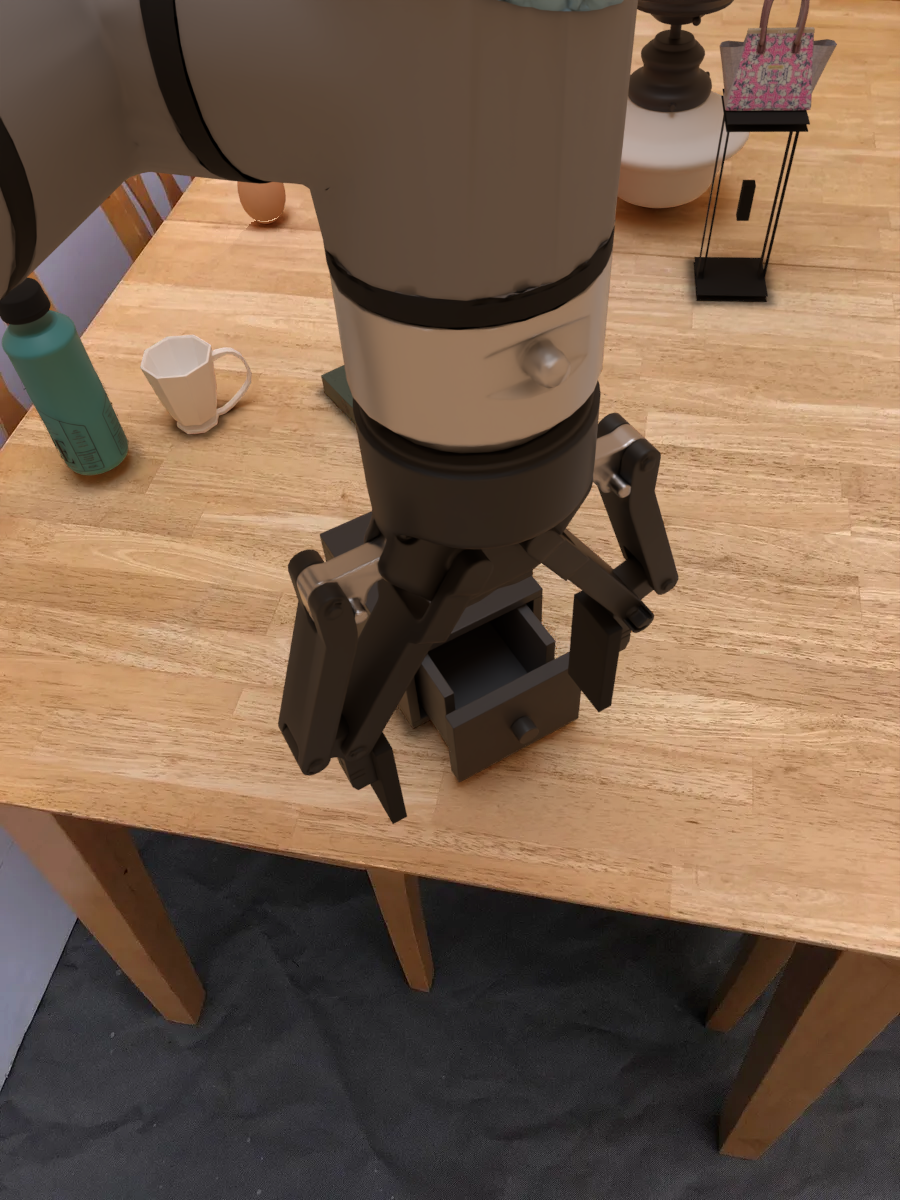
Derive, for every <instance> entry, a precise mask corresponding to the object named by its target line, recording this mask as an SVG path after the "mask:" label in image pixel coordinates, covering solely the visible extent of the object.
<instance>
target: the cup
mask: <svg viewBox="0 0 900 1200" xmlns="http://www.w3.org/2000/svg"><path fill="white" fill-rule="evenodd" d="M226 355H232V356H233V357H236V358H237V359H239V360H241V361H242V363H243V365H244V367H245V370H246V375H245V376H246V377H245V380H244V382H243V384H242V385H241V386H240V388H239V389H238V390H237V392H236V393H235V394H234V395H233V396H232V398H231V399H229V401H227V402H226V403H225V404H224V405H223V406H221V407H217V406H218V385H217V378H216V371H215V363H214V362H216V361H217V360H219V359H221V358H222V357H225V356H226ZM139 369H140V370H141V372H142V373H143V375H144V377H145V378H146V380H147V382H148V383H149V385H150V386H151V388H152V390H153V392H154V393H155V395H156V396H157V399H158V400H159V402H160V403H161V405H162V406H163V408H165V410H166V412H168V414H169V415H170V416H171V417H172V419H173V420H175V421H176V427H177V428H178V429H179V430H181V431H182V432H184V434H185V433H186V434H187V435H196V434H206V433H207V432H208V431H209V430H210V431H211V429H213V428H214V427H216V426H217V425H218V422H219V416H223V415H225V414H227V413H228V412H229V411H231V409H233V408H234V407H235V406H236V405H237V404H238V402H240V401H241V399H242V398H243V397H244V396H245V394H246V393H247V392H248V390H249V388H250V386H251V385H252V376H253V375H252V374H253V373H252V371H251V368H250V365H249V364H248V362H247V360H246V359H245V357H244V356H243V354H242V353H241V351H239V350H236V349H235V348H234V347H230V346H229V347H227V346H223V347H220V348H215V349H212V344H210V343H209V342H207V341H206V340H204V339H202V338H201V337H199V336H197V335H196V334H182V335H170V336H169V335H167V336H165V337H163V338H161V339H160V340H159V341H156V343H154V344H152V345H150V346H149V347H147V348H145V349H144V351H143V355H142V357H141V362H140V367H139Z"/></svg>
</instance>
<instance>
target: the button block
mask: <svg viewBox="0 0 900 1200" xmlns="http://www.w3.org/2000/svg"><path fill="white" fill-rule="evenodd" d="M320 377H321V382H322V387H323V392H324V393H325V395H326V396H328V397H329V399H330V400H331V401H332V402H333V403H334V404H335V405H336V406H337V407H338V408H339V409H340V410H341V411H342V412H343V413H344V415H345V416H347V418H349V420H350V421H351V422H353V424H355V418H354V413H353V396H352V393H351V390H350V388H349V385H348V382H347V379H346V373H345V367H344V364H343V365H341V366H338V367H336V368H334V369H332V370H330V371H327V372H325V373H323V374H321V375H320Z"/></svg>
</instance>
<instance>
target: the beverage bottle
mask: <svg viewBox="0 0 900 1200" xmlns="http://www.w3.org/2000/svg"><path fill="white" fill-rule="evenodd" d="M0 319H1V322H3V323H5V324H7V327H6V329H5V331H4V333H3V334H2V337H1V347H2V350H3V352H4V353H5V355H7V358H8V359H9V361H10V363H11V365H12V366H13V369H14V370H15V372H16V374H17V376H18V377H19V379H20V382H21V384H22V386H23V387H24V388H23V391H25V392H26V393H27V395H28V397H29V402H30V403H32V405H33V406H34V408H35V411H36V413H37V414H38V418H40V422H41V424H43V427H44V429H45V431H47V432H46V434H47V435H48V437H50V440H51V442H52V445H53V446H54V447H55V450H56V451H57V454H58V455H59V456H60V459H61V460H63V464H64V465H66V467H67V468H68V469H70V470H71V471H73V472H74V473H76V474H79V475H81V476H96V475H101V474H105V473H107V472H109V471H111V470H113V469H115V468H117V467H118V466H119V465H120V464H121V463H122V462H123V461H124V460H125V458H126V457H127V455H128V453H129V438H127V434H126V430H125V427H123V426H122V424H121V421H120V420H119V419H120V417H119V415H118V414H117V412H116V410H115V409H116V407H115V406H113V402H112V401H111V400H110V395H109V393H108V392H107V389H106V386H105V384H104V383H103V382H102V380H101V378H100V376H99V374H98V372H97V370H96V368H95V366H94V365H93V362H92V361H91V359H90V356H89V354H88V352H87V349H86V347H85V346H84V344H83V341H82V339H81V336H80V334H79V333H78V330H77V326H76V324H75V322H74V321H73V319H72V318H70V316H68V315H67V314H64V313H62V312H59V311H55V310H52V309H51V301H50V298H49V297H48V295H47V294H46V292H45V291H44V289H43V287H42V285H41V284H40V282H38V280H36V279H35V278H32V277H27V278H26V279H25V280H24V281H23V282H22V283H21V284H19V285H18V286H16V287H15V288H14V289H12V290H11V291H10V292H9V293H8V295H6V296H5V297H4V298H3V299H2V300H1V301H0Z"/></svg>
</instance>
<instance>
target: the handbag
mask: <svg viewBox="0 0 900 1200" xmlns="http://www.w3.org/2000/svg"><path fill="white" fill-rule="evenodd" d="M774 1H775V0H763V4H762V8H761V14H760V19H759V27H748V28H747V31H746V35H745V37H744V40H743V41H737V40H725V41H721V43H720V45H719V53H720V61H721V70H722V81H723V88H722V95H723V96H721V98H722V105H723V112H724V115H723V121H722V127H721V133H720V139H719V145H718V151H717V156H716V162H715V168H714V174H713V180H712V183H711V185H710V186H711V187H710V191H709V197H708V204H707V210H706V216H705V223H704V228H703V233H702V239H701V245H700V250H699V256H694V261H693V273H694V284H695V296H696V297H695V299H696V301H697V302H747V303H748V302H752V303H753V302H754V303H766V302H768V301H767V297H769V294H768V288H767V282H766V274H767V270H768V268H769V267H768V266H769V262H770V259H771V253H772V249H773V246H774V241H775V240H774V239H775V237H776V232H777V229H778V224H779V219H780V216H781V215H780V214H781V212H782V208H783V202H784V200H785V195H786V191H787V188H788V187H787V185H788V182H789V177H790V174H791V170H792V166H793V161H794V157H795V152H796V149H797V143H798V141H799V136H800V133H808V132H809V129H808V125H811V122H810V118H809V114H808V111H810V110H811V109H812V97H813V92H814V90H815V88H816V87H817V84H818V82H819V80H820V78H821V76H822V74H823V73H824V70H825V68H826V66H827V65H828V63H829V61H830V59H831V57H832V55H833V53H834V52H835V50H836V47H837V46H838V43H837V42H836V41H835V40H834V39H828V38H825V39H818V40H815V32H816V30H815V27H814V26H806V24H807V20H808V15H809V10H810V3H811V2H810V1H811V0H800V1H801V2H800V8H799V11H798V12H799V13H798V17H797V21H796V24H795V26H793V27H789V26H788V27H768V26H769V19H770V15H771V10H772V7H773V3H774ZM724 123H725V126H726V132H727V136H726V142H725V148H724V153H723V159H722V165H721V167H720V169H719V176H718V182H717V187H716V194H715V198H714V199H715V200H714V205H713V209H712V216H711V222H710V227H709V233H708V240H707V244H706V250H705V255H704V256H703V251H704V243H705V239H706V232H707V227H708V221H709V214H710V210H711V204H712V197H713V191H714V186H715V181H716V180H715V179H716V177H715V175H716V169H717V163H718V157H719V152H720V146H721V140H722V134H723V129H724ZM730 132H750V133H788V137H787V141H786V146H785V151H784V155H783V159H782V163H781V168H780V172H779V177H778V180H777V185H776V188H775V189H776V190H775V194H774V199H773V202H772V206H771V211H770V216H769V221H768V224H767V229H766V233H765V238H764V241H763V246H762V251H761V255H760V257H747V256H746V257H744V256H743V257H742V256H741V257H739V256H738V257H737V256H736V257H735V256H733V257H732V256H708V255H709V251H710V250H709V249H710V245H711V239H712V232H713V228H714V222H715V216H716V211H717V204H718V200H719V194H720V188H721V182H722V177H723V171H724V166H725V161H726V160H725V155H726V149H727V144H728V138H729V133H730ZM794 133H795V134H794ZM793 134H794V139H793V143H792V147H791V151H790V146H791V142H792V137H793ZM789 151H790V155H789ZM788 155H789V159H788ZM787 160H788V164H787ZM786 164H787V169H786V172H785V168H786ZM784 173H785V177H783V176H784ZM716 176H717V175H716ZM783 178H784V181H783ZM782 181H783V186H782ZM781 186H782V190H781V194H780V189H781ZM756 188H757V184H756V180H755V179H742V181H741V187H740V193H739V198H738V202H737V208H736V212H735V218H736V222H749V221H750V215H751V212H752V207H753V202H754V198H755V193H756ZM779 194H780V199H779ZM778 199H779V203H778ZM777 203H778V206H777ZM776 207H777V211H776ZM775 211H776V216H775ZM774 216H775V220H774ZM773 220H774V224H773ZM772 224H773V227H772ZM771 228H772V234H771V237H770V233H771ZM769 237H770V241H769ZM768 241H769V245H768ZM767 245H768V250H767ZM766 250H767V254H766ZM765 254H766V258H765ZM764 258H765V262H764Z"/></svg>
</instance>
